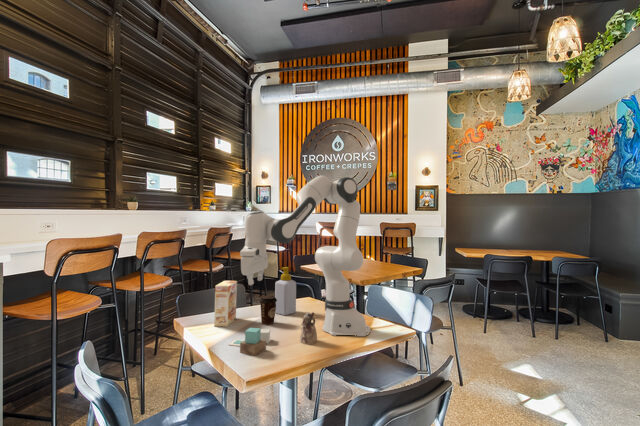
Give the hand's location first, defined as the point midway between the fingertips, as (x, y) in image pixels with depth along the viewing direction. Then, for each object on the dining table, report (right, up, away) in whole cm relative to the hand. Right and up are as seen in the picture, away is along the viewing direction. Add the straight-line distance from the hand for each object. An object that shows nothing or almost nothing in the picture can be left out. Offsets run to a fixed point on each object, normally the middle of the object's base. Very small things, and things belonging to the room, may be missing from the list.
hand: (255, 282), depth 141 cm
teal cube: (+1, -21, -11) cm, 23 cm away
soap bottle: (+8, -26, +44) cm, 51 cm away
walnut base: (+1, -25, -11) cm, 27 cm away
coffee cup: (+1, -26, +25) cm, 35 cm away
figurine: (+22, -25, 0) cm, 34 cm away
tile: (-6, -24, -3) cm, 25 cm away
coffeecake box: (-20, -25, +26) cm, 41 cm away
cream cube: (+4, -25, -1) cm, 25 cm away
